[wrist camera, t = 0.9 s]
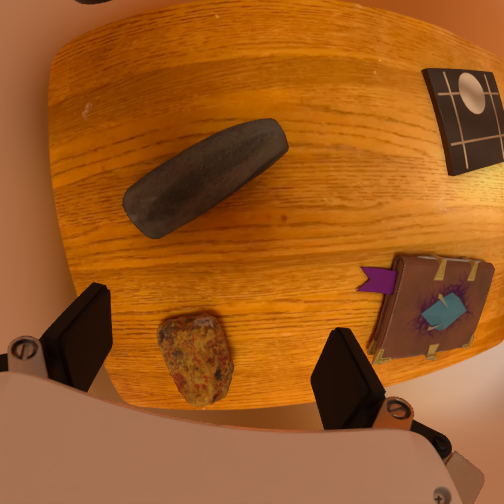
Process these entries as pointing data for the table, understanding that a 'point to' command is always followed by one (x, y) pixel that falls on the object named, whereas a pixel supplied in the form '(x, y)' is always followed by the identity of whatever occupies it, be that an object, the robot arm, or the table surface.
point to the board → (467, 117)
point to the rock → (197, 357)
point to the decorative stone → (203, 176)
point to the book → (427, 305)
